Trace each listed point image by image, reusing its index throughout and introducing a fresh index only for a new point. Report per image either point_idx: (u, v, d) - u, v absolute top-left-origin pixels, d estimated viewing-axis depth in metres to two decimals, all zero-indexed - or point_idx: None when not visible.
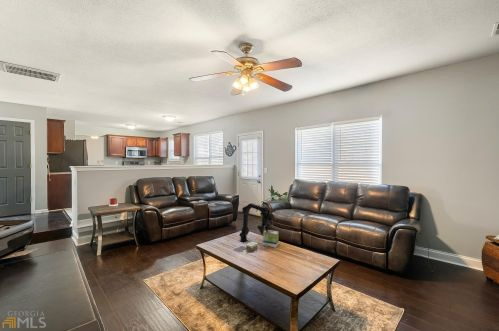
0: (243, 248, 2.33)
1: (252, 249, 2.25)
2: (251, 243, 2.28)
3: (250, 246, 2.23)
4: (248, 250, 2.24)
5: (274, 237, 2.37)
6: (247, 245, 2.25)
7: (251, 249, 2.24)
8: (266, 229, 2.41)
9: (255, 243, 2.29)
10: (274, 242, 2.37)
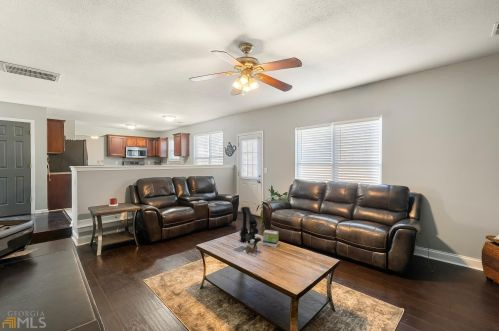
0: (243, 248, 2.33)
1: (252, 249, 2.25)
2: (251, 243, 2.28)
3: (250, 246, 2.23)
4: (248, 250, 2.24)
5: (274, 237, 2.37)
6: (247, 245, 2.25)
7: (251, 249, 2.24)
8: None
9: None
10: (274, 242, 2.37)
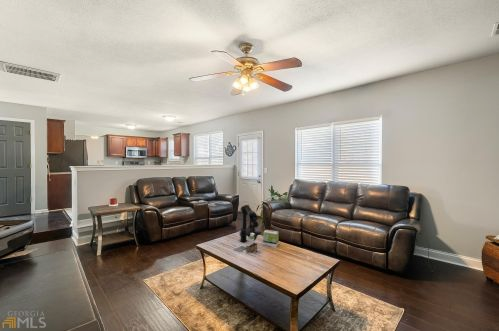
0: (243, 248, 2.33)
1: (252, 249, 2.25)
2: (251, 236, 2.27)
3: (250, 239, 2.23)
4: (248, 250, 2.24)
5: (274, 237, 2.37)
6: (247, 238, 2.25)
7: (251, 249, 2.24)
8: None
9: None
10: (274, 242, 2.37)
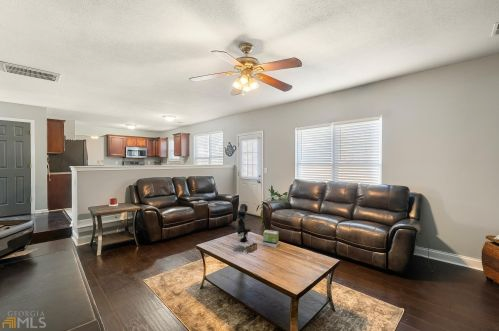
0: (243, 248, 2.33)
1: (252, 249, 2.25)
2: (241, 234, 2.31)
3: (240, 237, 2.26)
4: (248, 250, 2.24)
5: (274, 237, 2.37)
6: (237, 236, 2.28)
7: (251, 249, 2.24)
8: None
9: None
10: (274, 242, 2.37)
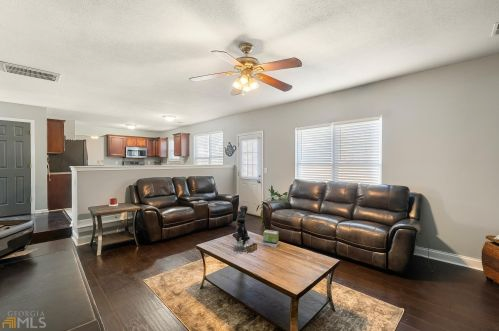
0: (243, 248, 2.33)
1: (252, 249, 2.25)
2: (240, 241, 2.31)
3: (239, 244, 2.27)
4: (248, 250, 2.24)
5: (274, 237, 2.37)
6: (236, 243, 2.29)
7: (251, 249, 2.24)
8: None
9: None
10: (274, 242, 2.37)
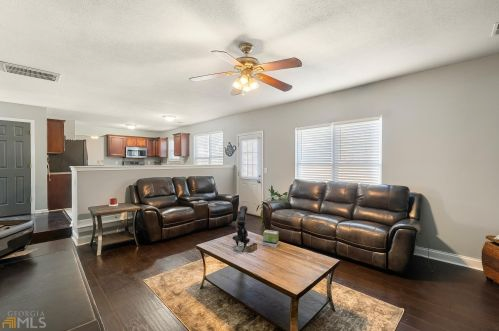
0: None
1: (252, 249, 2.25)
2: (240, 246, 2.31)
3: (239, 249, 2.27)
4: (248, 250, 2.24)
5: (274, 237, 2.37)
6: (236, 248, 2.29)
7: (251, 249, 2.24)
8: None
9: None
10: (274, 242, 2.37)
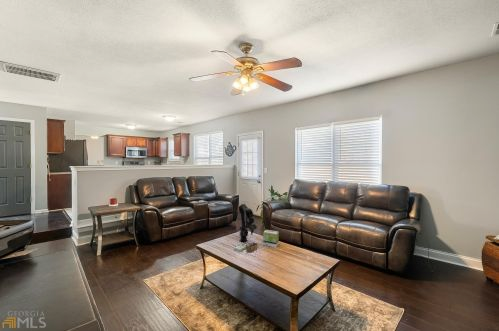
0: None
1: (252, 249, 2.25)
2: (240, 246, 2.31)
3: (239, 249, 2.27)
4: (248, 250, 2.24)
5: (274, 237, 2.37)
6: (236, 248, 2.29)
7: (251, 249, 2.24)
8: (251, 231, 2.42)
9: (244, 246, 2.33)
10: (274, 242, 2.37)
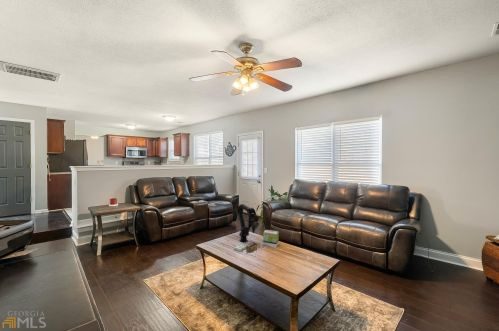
0: None
1: (252, 249, 2.25)
2: (240, 246, 2.31)
3: (239, 249, 2.27)
4: (248, 250, 2.24)
5: (274, 237, 2.37)
6: (236, 248, 2.29)
7: (251, 249, 2.24)
8: (252, 230, 2.46)
9: (244, 246, 2.33)
10: (274, 242, 2.37)
